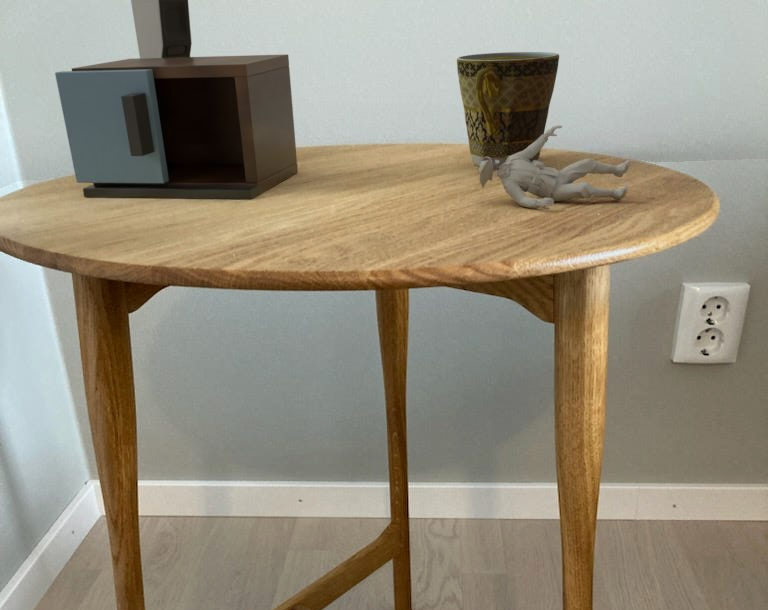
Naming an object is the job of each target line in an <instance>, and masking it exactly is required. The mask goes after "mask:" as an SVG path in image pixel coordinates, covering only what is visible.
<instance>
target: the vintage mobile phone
mask: <svg viewBox="0 0 768 610" xmlns="http://www.w3.org/2000/svg"><path fill="white" fill-rule="evenodd" d="M130 5H131V11H132V16H133V22H134V23H133V24H134V28H135V37H136V41H137V48H138V55H139V58H175V57H191V53H192V31H191V19H190V5H189V0H130Z"/></svg>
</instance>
